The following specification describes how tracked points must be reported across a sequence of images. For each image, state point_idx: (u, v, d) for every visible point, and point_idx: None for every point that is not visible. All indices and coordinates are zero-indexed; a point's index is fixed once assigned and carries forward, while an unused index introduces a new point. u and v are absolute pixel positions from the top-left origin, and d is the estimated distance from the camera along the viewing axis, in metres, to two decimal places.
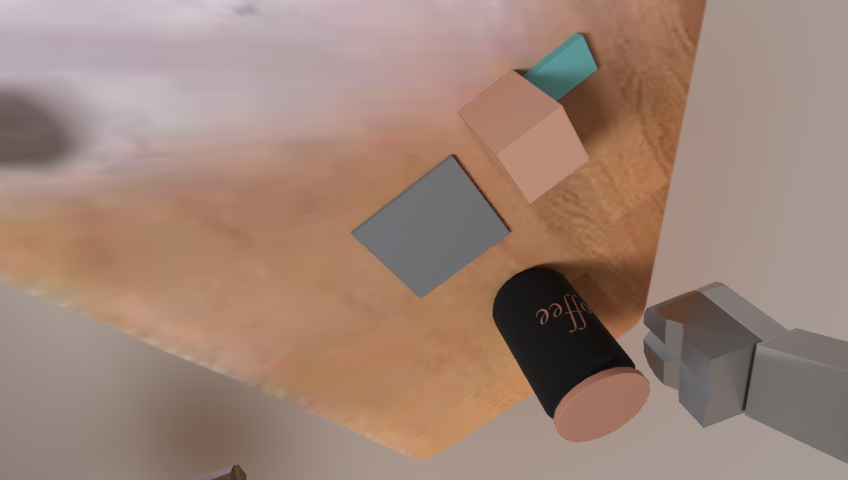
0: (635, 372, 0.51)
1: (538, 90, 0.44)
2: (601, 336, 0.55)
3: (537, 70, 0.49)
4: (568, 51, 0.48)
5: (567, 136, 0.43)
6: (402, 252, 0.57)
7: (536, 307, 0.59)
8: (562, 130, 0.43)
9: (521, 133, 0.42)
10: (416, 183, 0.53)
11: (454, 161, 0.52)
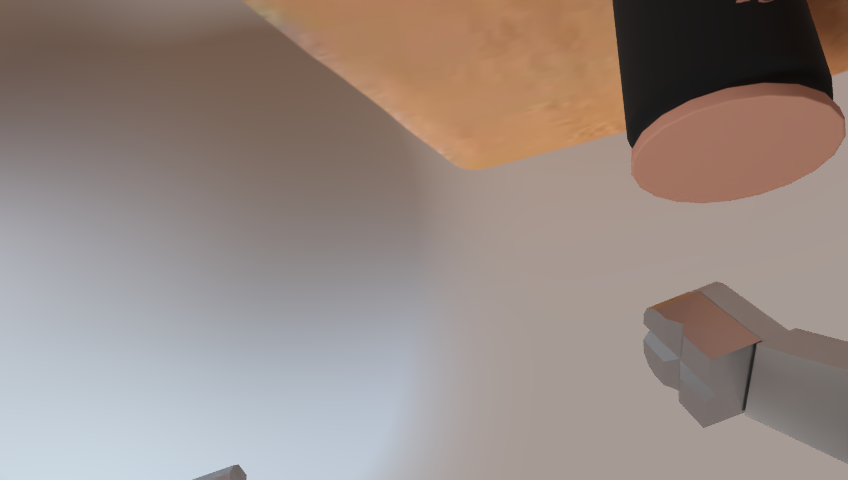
0: (832, 106, 0.26)
1: None
2: (796, 24, 0.27)
3: None
4: None
5: None
6: None
7: None
8: None
9: None
10: None
11: None
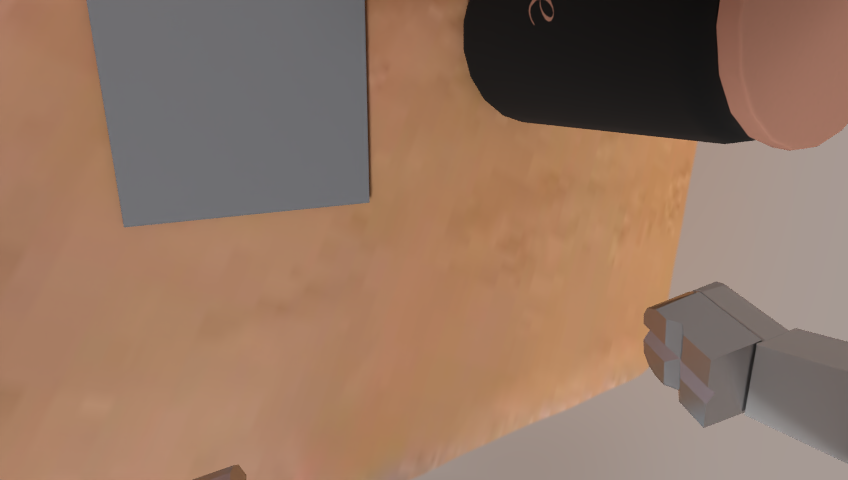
0: None
1: None
2: None
3: None
4: None
5: None
6: (244, 171, 0.28)
7: (521, 12, 0.26)
8: None
9: None
10: (94, 45, 0.23)
11: None
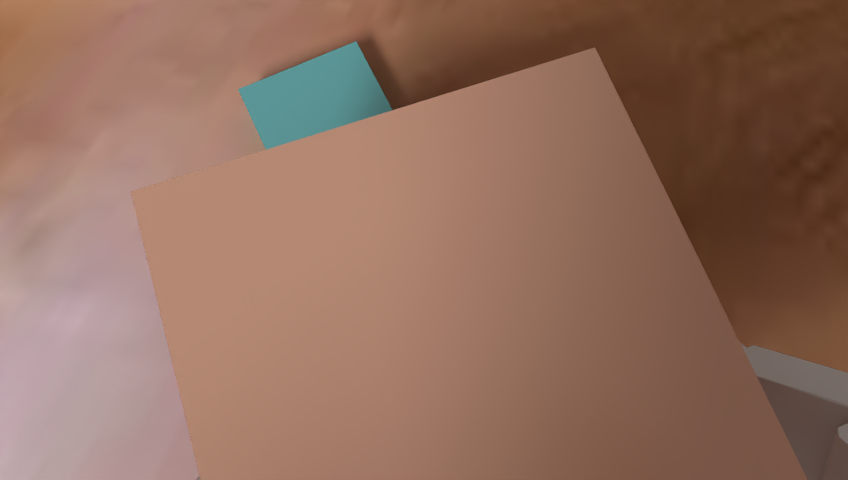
0: None
1: None
2: None
3: None
4: (272, 131, 0.16)
5: (370, 174, 0.07)
6: None
7: None
8: (311, 203, 0.07)
9: None
10: None
11: None
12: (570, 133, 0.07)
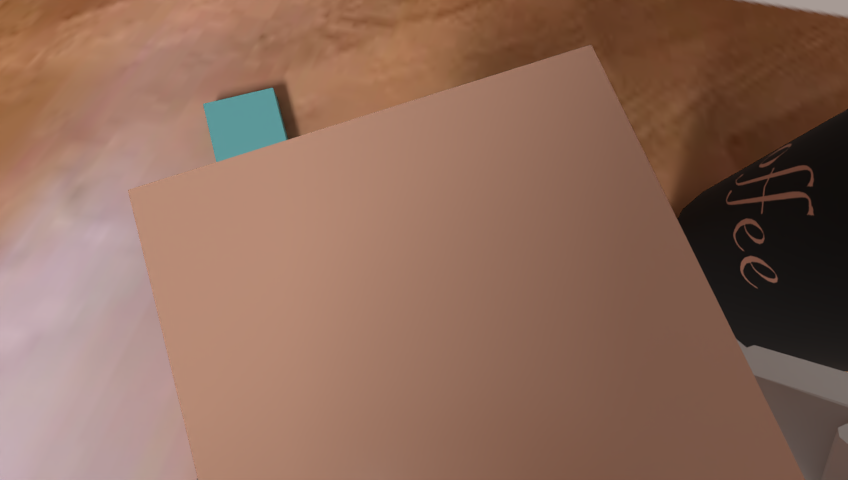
0: None
1: None
2: None
3: None
4: (216, 129, 0.29)
5: (366, 172, 0.07)
6: None
7: (733, 277, 0.23)
8: (307, 201, 0.07)
9: None
10: None
11: None
12: (566, 130, 0.07)
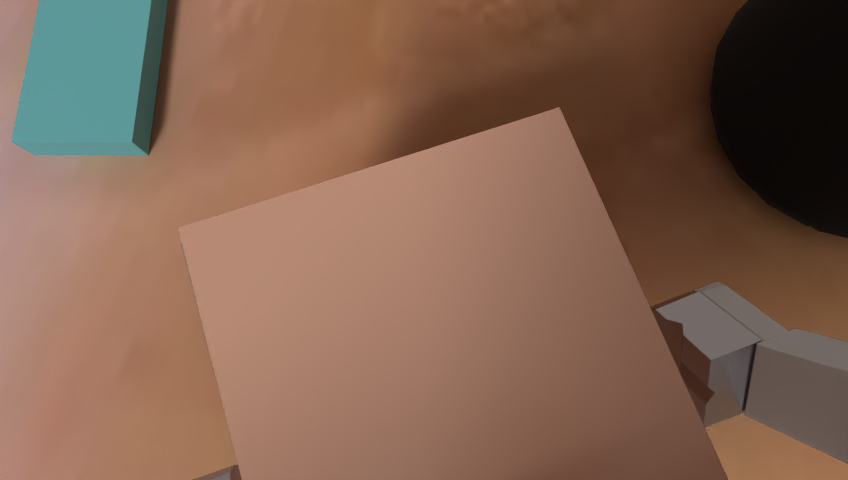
0: None
1: None
2: None
3: None
4: None
5: (372, 214, 0.08)
6: None
7: (846, 39, 0.13)
8: (324, 238, 0.08)
9: None
10: None
11: None
12: (537, 180, 0.08)
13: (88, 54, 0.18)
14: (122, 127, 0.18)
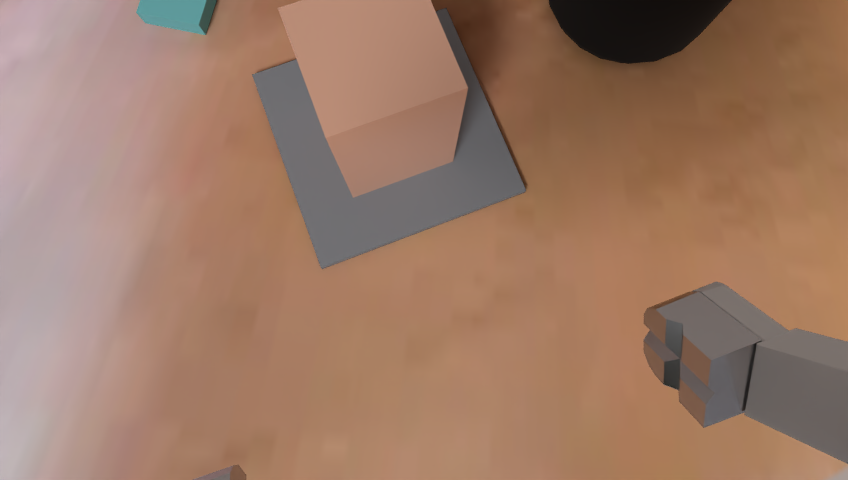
0: None
1: None
2: None
3: None
4: None
5: (345, 2, 0.23)
6: (401, 195, 0.31)
7: None
8: (329, 10, 0.23)
9: (307, 86, 0.22)
10: (276, 139, 0.32)
11: (262, 73, 0.32)
12: None
13: None
14: (195, 16, 0.32)
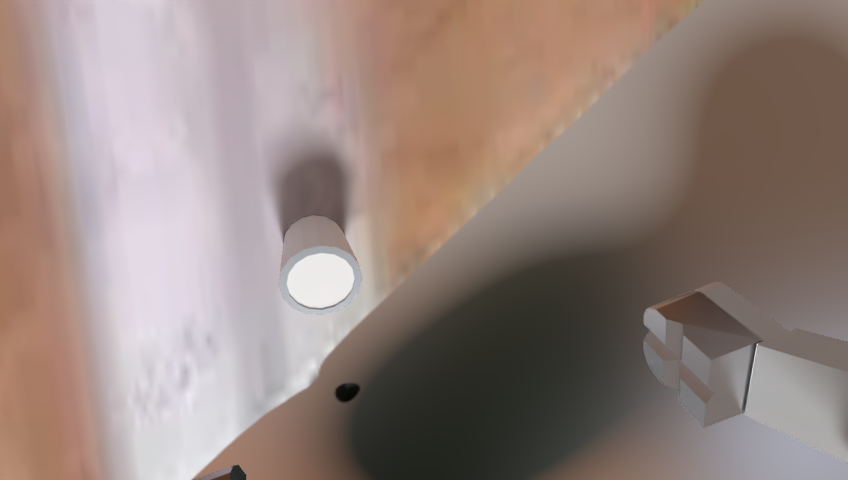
0: None
1: None
2: None
3: None
4: None
5: None
6: None
7: None
8: None
9: None
10: None
11: None
12: None
13: None
14: None
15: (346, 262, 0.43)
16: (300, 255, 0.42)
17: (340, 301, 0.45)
